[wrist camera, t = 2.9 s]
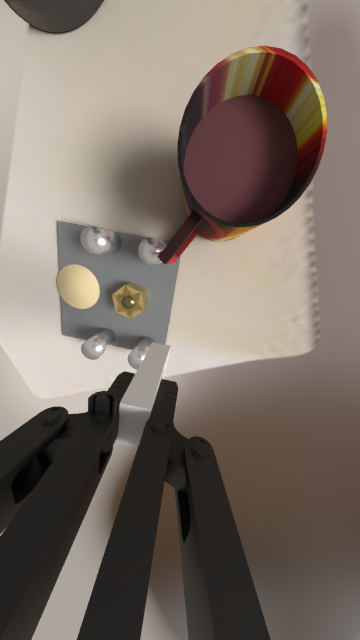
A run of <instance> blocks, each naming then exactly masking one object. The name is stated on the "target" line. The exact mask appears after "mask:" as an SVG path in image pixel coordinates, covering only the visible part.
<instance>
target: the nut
mask: <svg viewBox="0 0 360 640" xmlns="http://www.w3.org/2000/svg"><path fill="white" fill-rule="evenodd" d="M112 297H113V302H114V307H115V311H116V312H117V313H119V314H121V315H123V316H126V317H128V318H130V319H132V318H134V317H135V316H137V315H138V314H140V313H141V312H143V311H144V310H145V309H146V308H147V307H148V306H149V305H148V298H147V291H146V289H144V288H142V287H140V286H138V285H135V284H133V283H128V284H126V285H124V286H123V287H122V288H120V289H119V290H118V291H116V292H115V293H114V294H113V295H112Z"/></svg>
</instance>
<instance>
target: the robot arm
mask: <svg viewBox="0 0 360 640" xmlns="http://www.w3.org/2000/svg"><path fill="white" fill-rule="evenodd" d="M4 1H5V2H6V3H7V4H8V5H9V7H10V8H11V9H12V10H13V11H14V12H15V13H16V14H17V15H18V16H19V17H21V18H22V19H23V20H24V21H26V22H27V23H29V24H30V25H32V26H34V27H36V28H38V29H41V30H44V31H48V32H65V31H69V30H72V29H74V28H76V27H78V26H80V25H82V24H83V23H84V22H86V21H87V20H88V19H89V18H90V17H91V16H92V15H93V14H94V13H95V12H96V10H97V9H98V8H99V6H100V5H101V3H102V2H103V0H4ZM169 351H170V346H168V345H163V344H159V343H154V342H152V344H151V345H150V347H149V349H148V351H147V353H146V355H145V357H144V359H143V360H142V362H141V364H140V366H139V368H138V370H137V372H136V374H134V373H129V372H122V373H121V374H119V375H118V376H117V378H116V379H115V381H114V382H113V384H112V385H111V387H110V388H109V390H108V391H101V392H97V393H95V394H92V395H91V396H90V397H89V398H88V412H86V413H79V414H68V411H67V410H66V409H65V408H63V407H51V408H48V409H45V410H44V411H42V412H40V413H39V414H37V415H36V416H35V417H33V418H32V419H30V420H29V421H28V422H26V423H25V424H23V425H22V426H21V427H19V428H18V429H17V430H15V431H14V432H13V433H11V434H10V435H8V436H7V437H5V438H4V439H3V440H1V441H0V534H1V533H2V532H3V530H4V529H5V528H6V527H7V528H6V529H5V531H4V532H3V534H2V535H1V536H0V640H31V639H32V637H33V634H34V632H35V630H36V627H37V625H38V622H39V620H40V618H41V616H42V613H43V611H44V609H45V607H46V604H47V602H48V600H49V597H50V595H51V592H52V590H53V588H54V586H55V583H56V581H57V579H58V576H59V574H60V572H61V570H62V567H63V565H64V563H65V560H66V558H67V556H68V554H69V551H70V549H71V547H72V544H73V542H74V540H75V537H76V535H77V532H78V531H79V528H80V526H81V524H82V521H83V519H84V517H85V514H86V512H87V510H88V507H89V505H90V503H91V500H92V498H93V496H94V494H95V491H96V489H97V487H98V484H99V482H100V480H101V478H102V475H103V473H104V471H105V468H106V466H107V464H108V461H109V459H110V457H111V454H112V450H113V444H114V442H115V440H116V438H117V441H116V442H117V443H119V444H123V445H128V446H132V447H137V448H138V449H137V452H136V455H135V459H134V462H133V465H132V468H131V471H130V474H129V477H128V481H127V484H126V487H125V490H124V493H123V496H122V499H121V503H120V506H119V509H118V513H117V515H116V518H115V522H114V525H113V528H112V531H111V534H110V537H109V540H108V543H107V546H106V550H105V553H104V556H103V559H102V562H101V565H100V568H99V572H98V575H97V578H96V581H95V584H94V587H93V590H92V594H91V597H90V600H89V603H88V606H87V609H86V612H85V616H84V619H83V622H82V625H81V628H80V632H79V635H78V638H77V640H140V637H141V630H142V624H143V617H144V611H145V604H146V598H147V591H148V585H149V578H150V572H151V565H152V559H153V552H154V546H155V538H156V533H157V526H158V520H159V513H160V507H161V500H162V494H163V487H164V481H166V482H167V483H168V484H170V485H171V486H172V487H174V488H175V498H176V509H177V519H178V530H179V541H180V552H181V562H182V573H183V584H184V594H185V605H186V616H187V626H188V637H189V640H270V636H269V633H268V630H267V626H266V623H265V620H264V616H263V613H262V610H261V607H260V604H259V600H258V597H257V593H256V590H255V587H254V584H253V580H252V577H251V573H250V570H249V567H248V564H247V560H246V557H245V553H244V550H243V547H242V543H241V540H240V537H239V534H238V530H237V527H236V524H235V520H234V517H233V513H232V510H231V507H230V504H229V500H228V497H227V494H226V490H225V487H224V484H223V480H222V477H221V474H220V470H219V467H218V464H217V460H216V457H215V454H214V450H213V449H212V446H211V444H210V443H209V442H208V441H207V440H205V439H203V438H202V437H197V436H195V437H191V438H190V439H188V438H186V437H184V436H182V435H181V434H180V433H179V432H177V430H176V429H175V427H174V424H173V418H174V411H175V406H176V399H177V393H178V386H177V383H176V382H174V381H169V380H164V377H165V373H166V367H167V362H168V356H169Z"/></svg>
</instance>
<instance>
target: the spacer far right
mask: <svg viewBox="0 0 360 640" xmlns="http://www.w3.org/2000/svg"><path fill="white" fill-rule="evenodd" d="M152 342H154V343H155V341H154V340H153V339H152V338H150V337H142V338H141V339H140V340H139V341H138V343H137V344H136V346H135V347H134V349H133V350H132V352H131V353H130V354H129V356H128V362H129V364H130V366H131V367H133V368H135V369H138V368H139V366H140V364H141V362H142V360H143V359H144V357H145V355H146V353H147V351H148V349H149V347H150V345H151V344H152Z"/></svg>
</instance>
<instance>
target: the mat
mask: <svg viewBox="0 0 360 640" xmlns="http://www.w3.org/2000/svg"><path fill="white" fill-rule="evenodd" d="M86 227H87V226H81V225H76V224H71V223H66V222H61V221H57V233H58V254H59V274H58V277H57V288H58V291H59V293H60V297H61V319H62V335H66V336H70V337H75V338H80V339H85V340H88V339H90V338H91V337H92V336H94V335H95V334H96V333H97V332H99V331H100V330H101V329H103V328H108V329H110V330H112V331H113V332H114V334H115V337H116V338H115V341H114V342H113V344H112V345H113V346H118V347H123V348H128V349H132V350H133V349H134V347H135V346H136V344H137V343H138V341H139V340H140V339H141V338H142V337H150V338H152V339H153V340H154V341H155V343H159V344H163V345H165V342H166V337H167V331H168V325H169V319H170V313H171V307H172V302H173V296H174V290H175V284H176V278H177V272H178V267H179V261H180V257H179V258H178V259H177V260H176V261H175V262H174V263H172V264H164V263H160V264H156V265H147V264H145V263H144V262H143V261H142V260H141V259H140V257H139V254H138V248H139V245H140V243H141V242H142V241H143V240H144V239H146V238H144V237H139V236H133V235H128V234H123V233H118V232H115V233H116V234H118V235H119V237H120V239H121V242H122V245H121V249H120V251H119V252H117V253H115V254H91V253H89V252H87V251H86V250H85V249H84V248H83V246H82V244H81V240H80V236H81V233H82V231H83V229H85V228H86ZM112 232H113V231H112ZM163 242H165V241H163ZM165 243H166V244H168V243H169V242H165ZM128 283H133V284H135V285H138V286H140V287H142V288H144V289H146V291H147V298H148V305H149V306H148V307H147V308H146V309H145V310H144V311H143V312H141V313H140V314H138V315H137V316H135V317H134V318H132V319H130V318H128V317H126V316H123V315H121V314H119V313H117V312H116V311H115V307H114V302H113V297H112V295H113V294H114V293H115V292H116V291H118V290H119V289H120V288H122V287H123V286H124V285H126V284H128Z"/></svg>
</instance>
